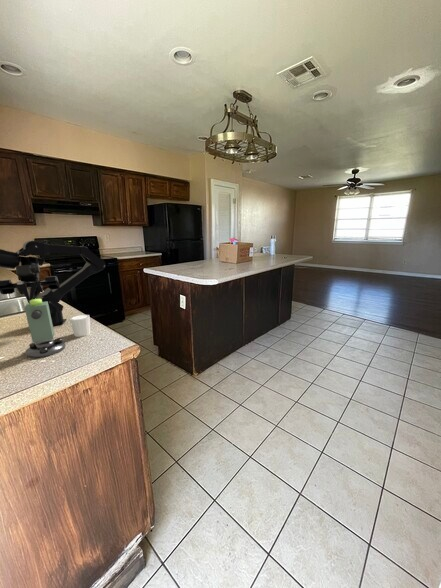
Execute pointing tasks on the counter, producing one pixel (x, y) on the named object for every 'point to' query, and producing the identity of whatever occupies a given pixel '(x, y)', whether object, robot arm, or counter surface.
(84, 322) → the white cup
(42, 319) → the dome-topped green pillar
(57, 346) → the base
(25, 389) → the counter surface
